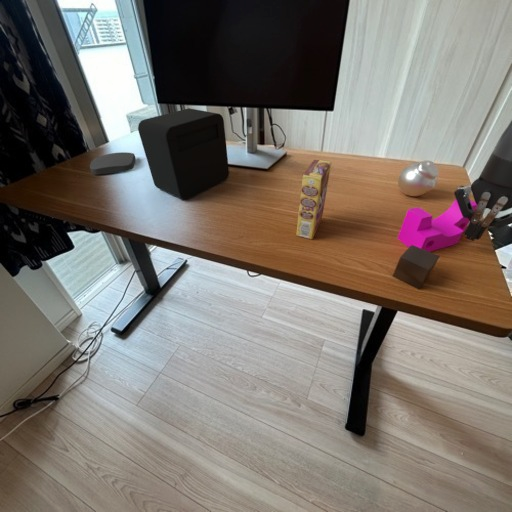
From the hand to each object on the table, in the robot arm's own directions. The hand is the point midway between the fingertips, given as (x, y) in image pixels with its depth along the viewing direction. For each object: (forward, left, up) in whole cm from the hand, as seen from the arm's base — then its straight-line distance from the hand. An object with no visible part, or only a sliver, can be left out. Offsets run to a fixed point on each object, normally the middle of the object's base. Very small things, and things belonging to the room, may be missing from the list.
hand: (470, 238), depth 55 cm
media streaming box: (+107, +32, -3) cm, 111 cm away
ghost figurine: (+18, -17, -3) cm, 25 cm away
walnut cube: (+5, +16, -3) cm, 17 cm away
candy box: (+29, +16, -3) cm, 33 cm away
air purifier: (+72, +21, -3) cm, 75 cm away
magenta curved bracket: (+6, 0, -3) cm, 7 cm away
